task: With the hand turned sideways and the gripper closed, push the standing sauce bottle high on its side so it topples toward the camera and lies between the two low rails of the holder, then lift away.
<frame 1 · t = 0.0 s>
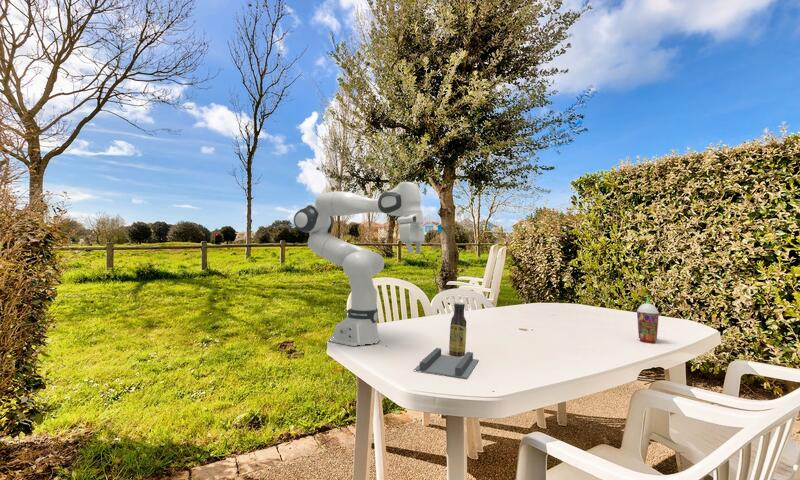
hand: (414, 253, 151), 39 cm above the table, tool pointing down, fingers open, 8 cm apart
smoothie: (647, 342, 165), on the table
holder: (447, 365, 128), on the table
sauce bottle: (457, 354, 142), on the table
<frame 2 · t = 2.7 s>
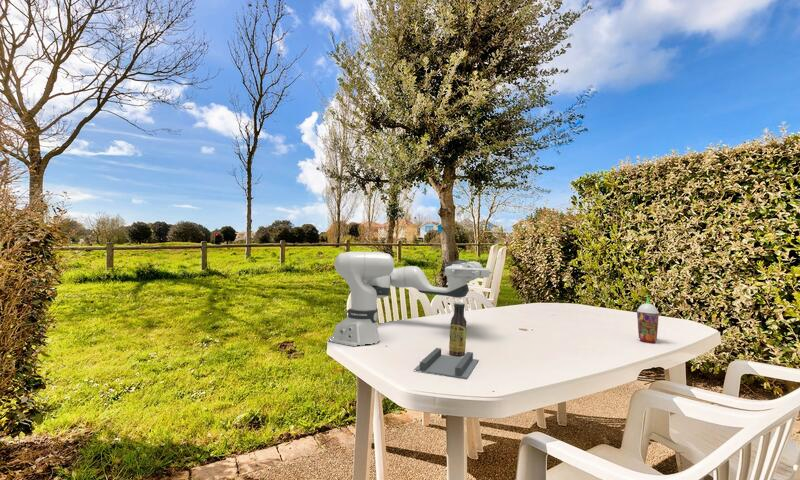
hand: (463, 273, 161), 30 cm above the table, tool horizontal, fingers open, 8 cm apart
nothing on the table moved.
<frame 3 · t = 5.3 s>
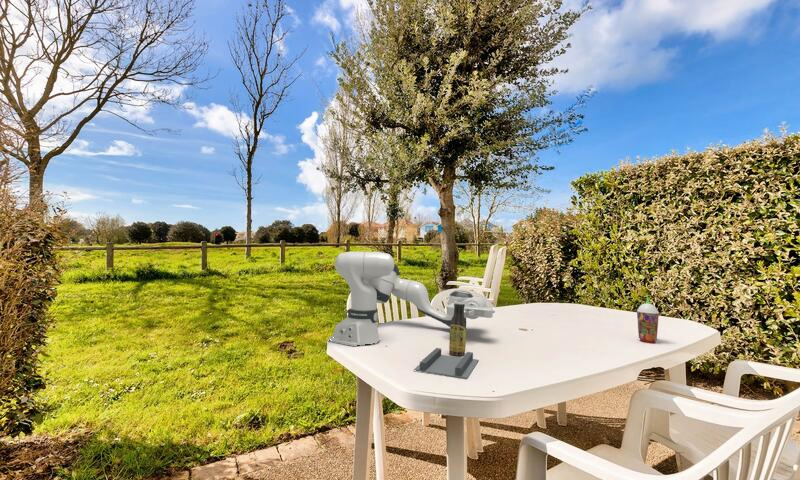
hand: (466, 313, 156), 13 cm above the table, tool horizontal, fingers closed
nothing on the table moved.
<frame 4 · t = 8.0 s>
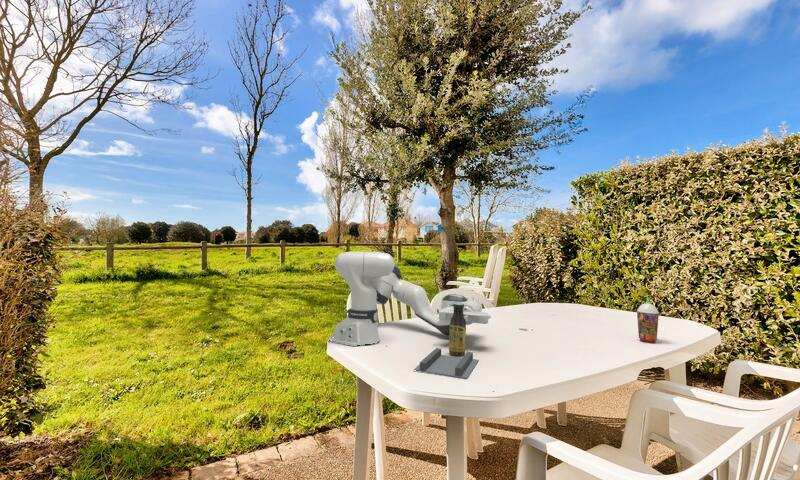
hand: (459, 319, 144), 13 cm above the table, tool horizontal, fingers closed
sauce bottle: (457, 354, 142), on the table, touching gripper
everything else where it was.
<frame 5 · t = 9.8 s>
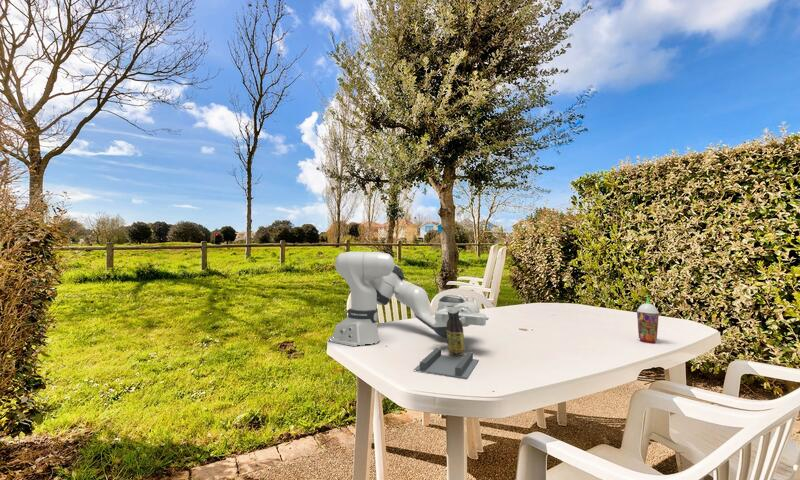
hand: (456, 321, 139), 13 cm above the table, tool horizontal, fingers closed, pressing on sauce bottle
sauce bottle: (457, 351, 142), point 1 cm above the table, touching gripper
everything else where it was.
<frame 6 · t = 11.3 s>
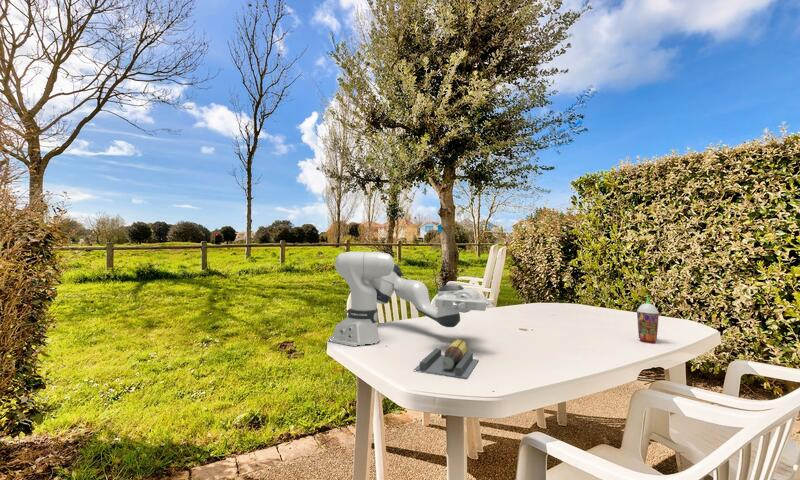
hand: (456, 306, 140), 19 cm above the table, tool horizontal, fingers closed
sauce bottle: (460, 346, 139), point 4 cm above the table, touching holder
everything else where it was.
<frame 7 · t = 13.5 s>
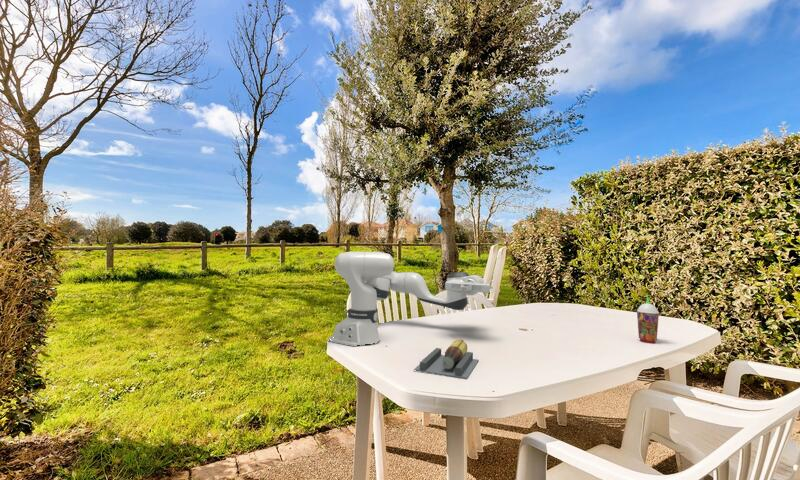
hand: (464, 288, 159), 24 cm above the table, tool horizontal, fingers closed
nothing on the table moved.
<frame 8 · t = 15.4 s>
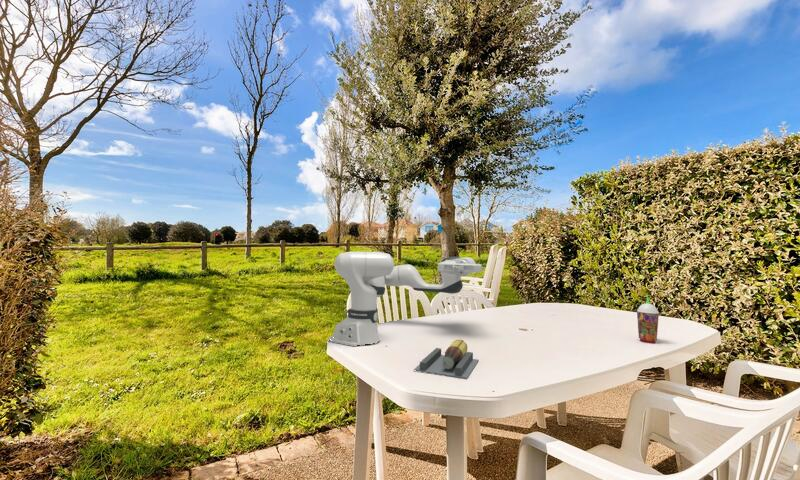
hand: (456, 268, 164), 32 cm above the table, tool horizontal, fingers closed
nothing on the table moved.
at the end: sauce bottle tilted 90°; sauce bottle inside the target area (2.3 cm from its centre), point 3.6 cm above the table; sauce bottle touching holder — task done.
